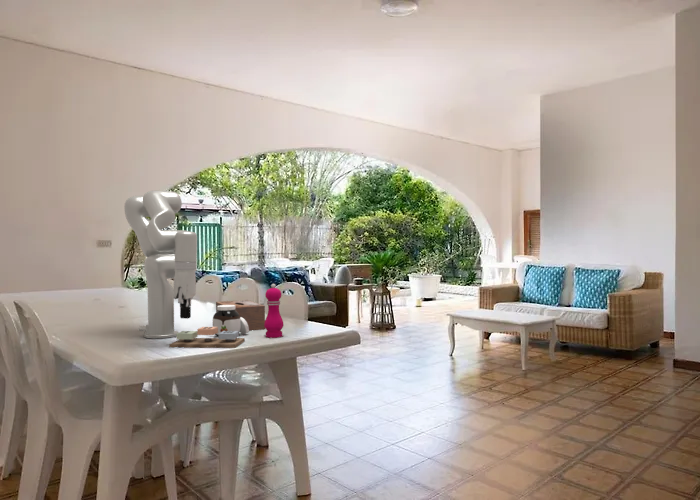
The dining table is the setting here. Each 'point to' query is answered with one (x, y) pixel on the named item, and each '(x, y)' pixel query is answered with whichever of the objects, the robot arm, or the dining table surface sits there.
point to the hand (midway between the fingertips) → (185, 317)
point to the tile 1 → (187, 335)
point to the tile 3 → (229, 335)
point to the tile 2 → (207, 330)
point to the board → (207, 343)
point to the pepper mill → (273, 313)
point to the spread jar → (229, 320)
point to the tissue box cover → (248, 312)
